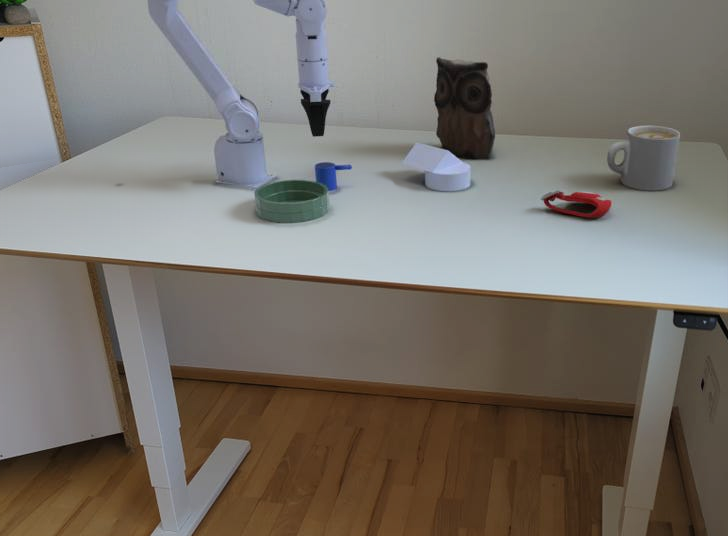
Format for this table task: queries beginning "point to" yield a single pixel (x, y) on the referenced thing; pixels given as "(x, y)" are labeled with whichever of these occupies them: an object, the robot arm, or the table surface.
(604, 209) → the tracker holder
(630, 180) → the coffee mug
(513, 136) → the table surface
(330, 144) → the table surface
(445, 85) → the owl
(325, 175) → the scoop
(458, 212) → the table surface
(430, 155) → the wedge on round base
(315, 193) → the green plant saucer
